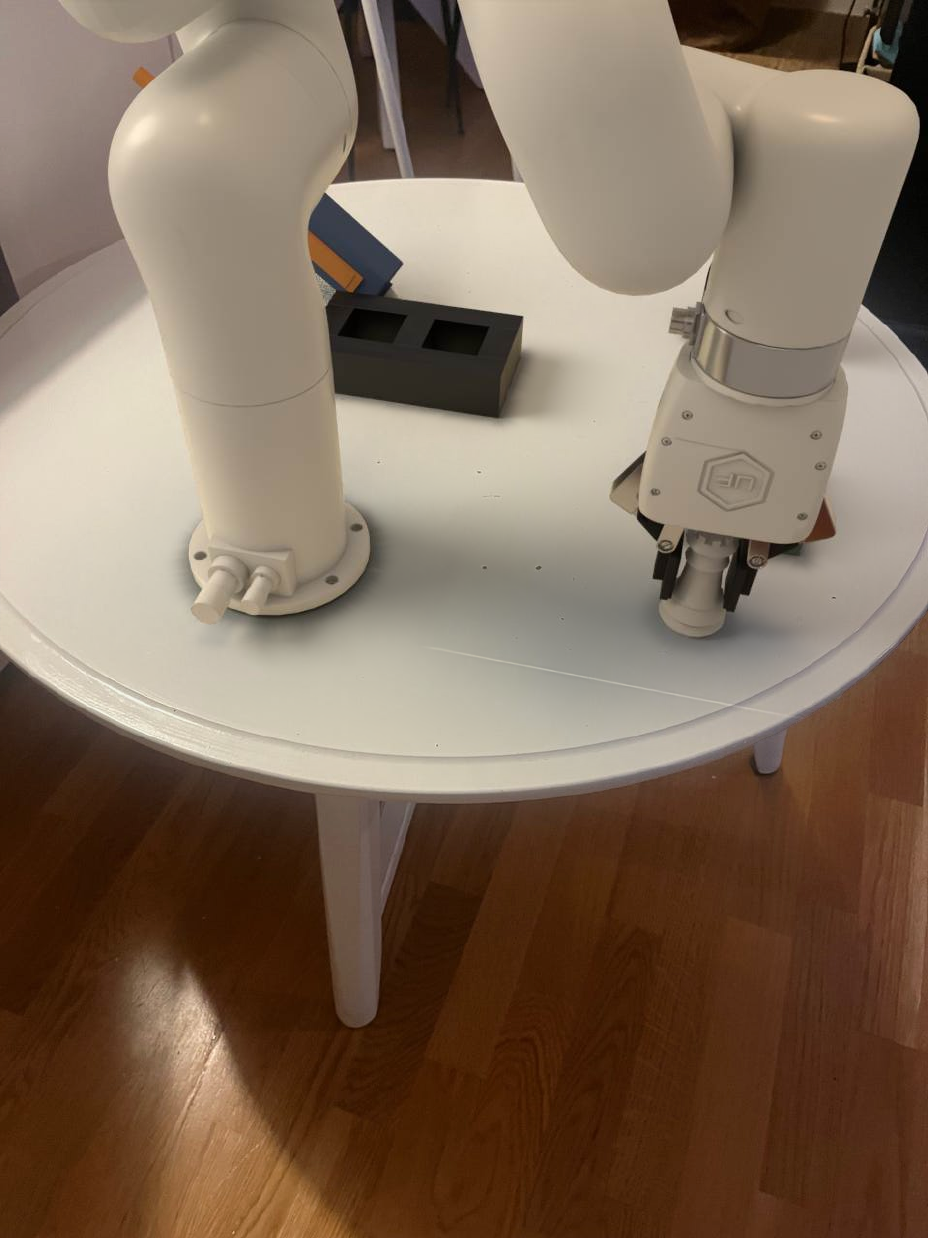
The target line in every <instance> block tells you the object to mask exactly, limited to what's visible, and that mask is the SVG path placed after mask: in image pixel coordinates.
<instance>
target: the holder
mask: <svg viewBox="0 0 928 1238" xmlns="http://www.w3.org/2000/svg"><path fill="white" fill-rule="evenodd" d="M334 291H335V292H334V293H333V295H332V296H331V298H330V299H329V301H328V302H327V304H326V305H325V309H326V315H327V322H328V330H329V340H330V351H331V357H332V367H333V378H334V390H335V394H341V395H342V394H343V395H348V396H349V395H350V396H355V397H362V398H366V399H375V400H380V401H386V402H387V401H388V402H393V403H400V404H406V405H411V406H412V405H413V406H418V407H424V408H425V407H426V408H431V409H432V408H433V409H439V410H446V411H450V412H451V411H452V412H457V413H458V412H459V413H464V414H471V415H477V416H483V417H490V418H496V419H499V417H500V414H501V412H502V409H503V408H504V407H503V406H504V405H505V404H504V403H505V401H506V399H507V395H508V393H509V390H510V387H511V384H512V381H513V379H514V377H515V373H516V371H517V367H518V365H519V363H520V359H521V358H522V343H523V330H524V329H523V328H524V315H519V314H511V313H504V312H497V311H490V310H482V309H475V308H467V307H460V306H454V305H448V304H440V303H433V302H425V301H419V300H410V299H403V298H400V299H397V298H390V297H383V296H375V295H368V294H361V293H354V292H347V291H339V290H334Z"/></svg>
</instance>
